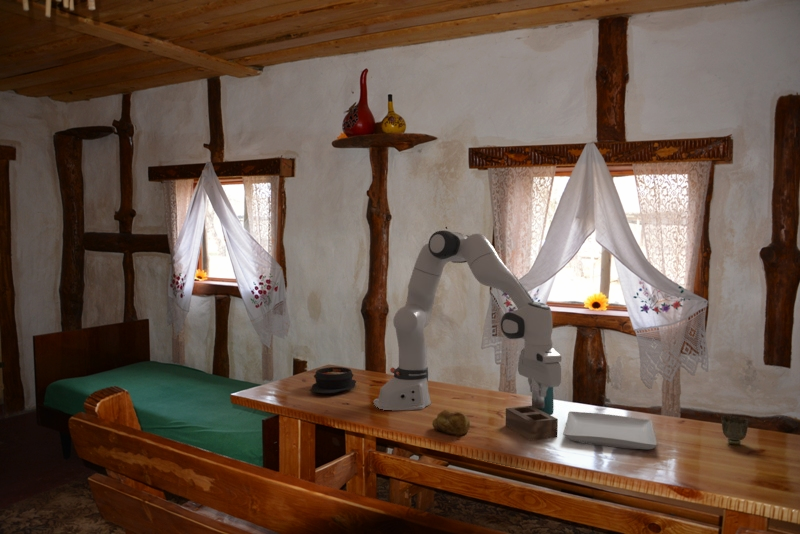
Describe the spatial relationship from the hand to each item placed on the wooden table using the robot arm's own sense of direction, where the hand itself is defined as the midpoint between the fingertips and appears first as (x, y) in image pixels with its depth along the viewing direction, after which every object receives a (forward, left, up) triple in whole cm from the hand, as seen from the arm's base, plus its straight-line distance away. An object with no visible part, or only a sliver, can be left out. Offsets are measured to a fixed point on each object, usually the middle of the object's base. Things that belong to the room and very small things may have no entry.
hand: (538, 394), depth 187 cm
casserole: (-51, +78, -14) cm, 94 cm away
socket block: (0, +4, -14) cm, 14 cm away
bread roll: (-25, +13, -14) cm, 31 cm away
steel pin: (0, 0, -4) cm, 4 cm away
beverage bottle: (+13, +16, -14) cm, 25 cm away
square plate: (+22, -8, -14) cm, 27 cm away
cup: (+54, -27, -14) cm, 62 cm away
